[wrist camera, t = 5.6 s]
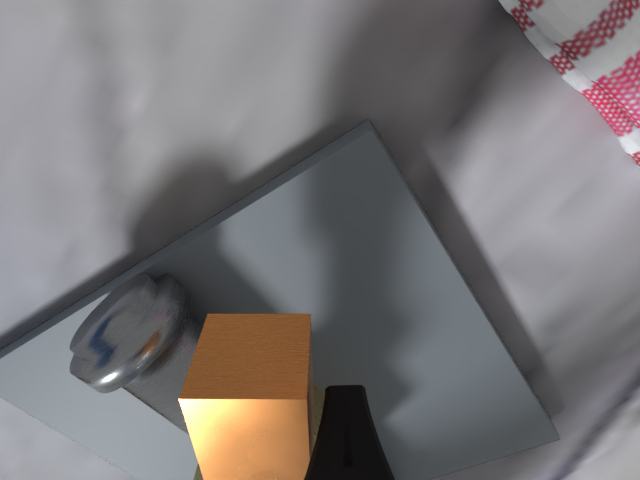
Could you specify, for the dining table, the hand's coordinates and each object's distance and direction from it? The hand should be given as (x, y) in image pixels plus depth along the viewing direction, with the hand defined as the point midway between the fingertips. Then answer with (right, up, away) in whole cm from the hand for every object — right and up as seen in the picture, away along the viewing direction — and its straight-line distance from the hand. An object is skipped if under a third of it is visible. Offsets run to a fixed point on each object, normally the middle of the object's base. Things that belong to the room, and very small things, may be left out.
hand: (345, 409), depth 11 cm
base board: (-3, -3, +9) cm, 10 cm away
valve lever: (-2, -3, +3) cm, 4 cm away
